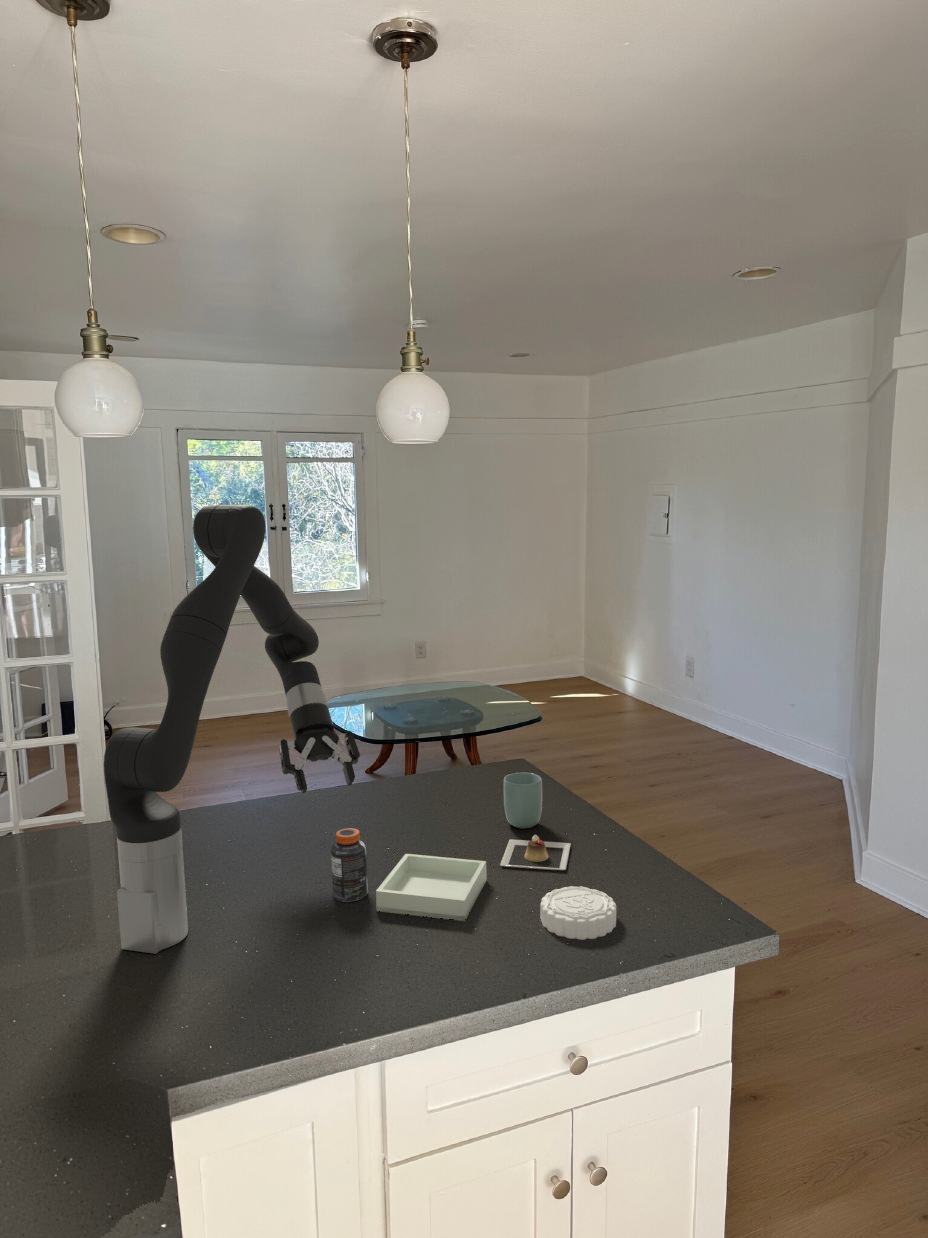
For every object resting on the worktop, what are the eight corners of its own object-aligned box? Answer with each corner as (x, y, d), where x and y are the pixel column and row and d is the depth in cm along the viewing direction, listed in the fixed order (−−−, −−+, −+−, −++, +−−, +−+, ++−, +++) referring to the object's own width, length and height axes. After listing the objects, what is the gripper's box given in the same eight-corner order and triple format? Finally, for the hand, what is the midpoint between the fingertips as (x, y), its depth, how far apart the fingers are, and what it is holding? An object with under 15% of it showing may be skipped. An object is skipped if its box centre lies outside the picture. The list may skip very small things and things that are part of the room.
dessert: (565, 875, 149) (565, 850, 148) (499, 871, 151) (499, 846, 151) (570, 848, 161) (570, 825, 160) (509, 844, 163) (509, 821, 162)
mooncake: (557, 946, 125) (557, 924, 124) (529, 909, 136) (529, 889, 136) (629, 934, 128) (629, 912, 127) (597, 899, 139) (597, 879, 139)
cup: (497, 822, 173) (497, 775, 172) (530, 815, 177) (530, 770, 175) (515, 835, 166) (515, 787, 165) (549, 828, 170) (548, 781, 168)
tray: (464, 921, 132) (464, 900, 132) (376, 911, 136) (375, 891, 135) (486, 880, 146) (486, 861, 146) (406, 872, 150) (405, 853, 150)
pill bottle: (371, 887, 145) (368, 825, 143) (363, 903, 139) (361, 839, 137) (337, 886, 145) (335, 824, 144) (328, 902, 139) (326, 838, 138)
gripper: (274, 706, 153) (291, 784, 145) (348, 697, 159) (369, 771, 151) (269, 727, 159) (286, 803, 150) (341, 717, 165) (361, 790, 156)
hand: (327, 787), depth 150 cm, fingers open, 8 cm apart
